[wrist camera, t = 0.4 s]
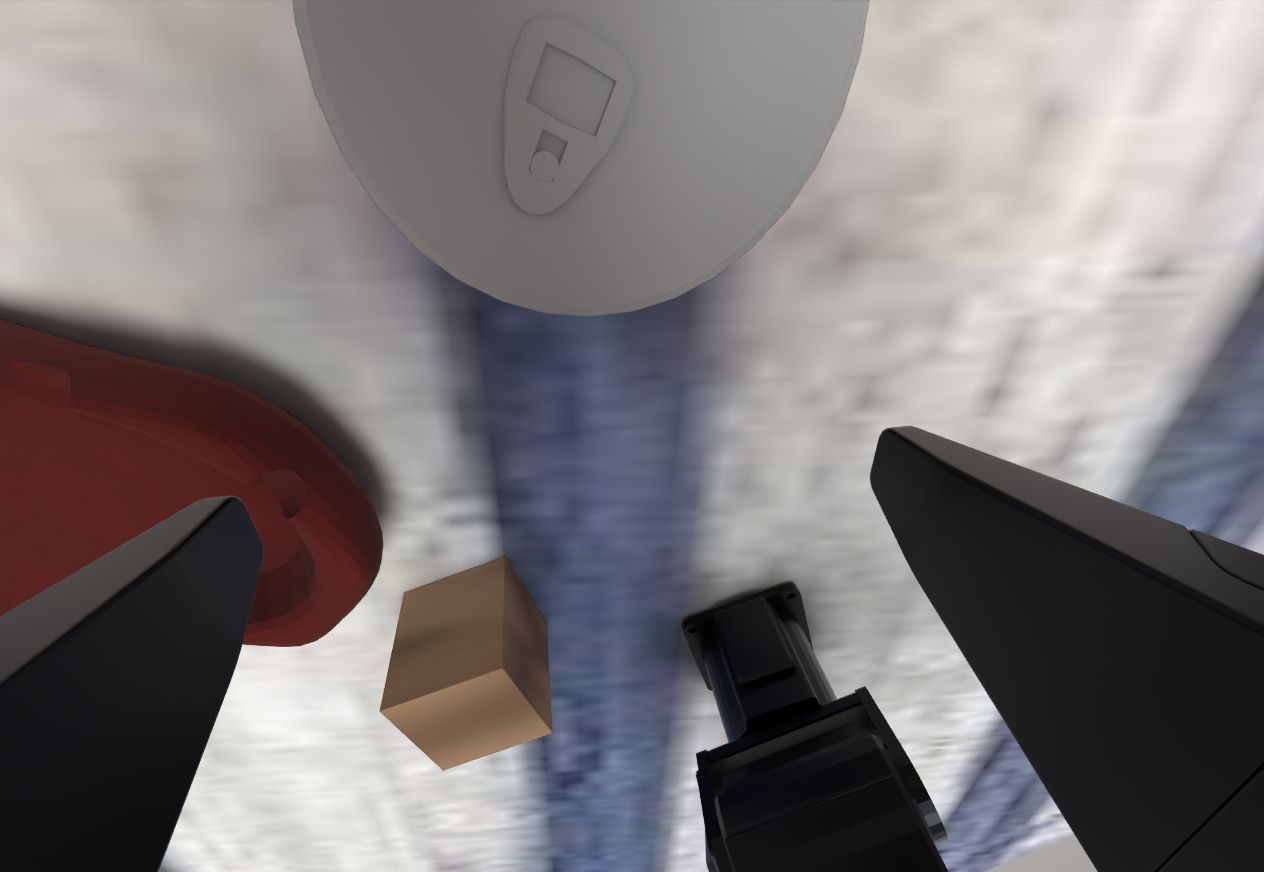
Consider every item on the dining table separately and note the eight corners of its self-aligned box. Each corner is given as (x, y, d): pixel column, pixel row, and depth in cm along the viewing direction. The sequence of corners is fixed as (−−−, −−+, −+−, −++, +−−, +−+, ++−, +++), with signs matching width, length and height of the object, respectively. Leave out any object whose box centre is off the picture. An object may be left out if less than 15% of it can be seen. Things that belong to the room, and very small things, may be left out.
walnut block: (546, 620, 30) (552, 732, 25) (455, 652, 30) (443, 770, 25) (504, 555, 27) (502, 668, 22) (404, 591, 27) (379, 711, 22)
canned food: (415, 173, 18) (313, 295, 9) (411, -188, 14) (214, -640, 5) (655, 210, 20) (774, 344, 11) (714, -100, 16) (988, -309, 7)
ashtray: (81, 126, 16) (-66, 151, 12) (433, 511, 25) (417, 600, 21) (-384, 407, 18) (-650, 512, 14) (99, 672, 27) (26, 783, 23)
